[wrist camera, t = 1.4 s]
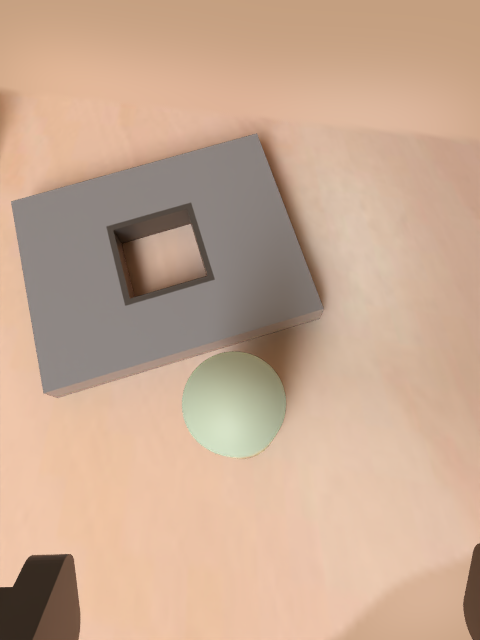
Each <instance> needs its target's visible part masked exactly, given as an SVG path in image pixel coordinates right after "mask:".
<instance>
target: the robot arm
mask: <svg viewBox="0 0 480 640" xmlns="http://www.w3.org/2000/svg"><path fill="white" fill-rule="evenodd" d="M463 605H464V606H463V607H464V616H465V620H466V624H467V627H468V630H469V633H470V635H471V637H472V639H473V640H480V543H479V544H477V545H476V546H475V548H474V551H473V556H472V561H471V566H470V571H469V576H468V581H467V587H466V591H465V596H464V603H463ZM79 632H80V607H79V599H78V590H77V582H76V573H75V565H74V559H73V556H72V555H71V554H59V555H32V556H30V557H29V558H28V559H27V560H26V562H25V564H24V566H23V568H22V570H21V572H20V574H19V576H18V578H17V580H16V582H15V584H14V586H13V587H0V640H78V639H79Z"/></svg>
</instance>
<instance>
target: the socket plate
mask: <svg viewBox="0 0 480 640" xmlns="http://www.w3.org/2000/svg"><path fill="white" fill-rule="evenodd" d="M11 204H12V210H13V216H14V222H15V228H16V233H17V239H18V245H19V251H20V257H21V263H22V269H23V275H24V281H25V287H26V292H27V298H28V304H29V310H30V316H31V322H32V328H33V334H34V340H35V346H36V352H37V357H38V363H39V369H40V375H41V381H42V387H43V393H44V394H47V395H50V396H53V397H56V398H58V397H62V396H65V395H68V394H72V393H75V392H78V391H82V390H85V389H88V388H92V387H95V386H98V385H101V384H105V383H108V382H111V381H115V380H118V379H121V378H125V377H128V376H131V375H135V374H138V373H141V372H144V371H148V370H151V369H154V368H158V367H161V366H164V365H168V364H171V363H174V362H177V361H181V360H184V359H187V358H191V357H194V356H197V355H201V354H204V353H207V352H211V351H214V350H217V349H220V348H224V347H227V346H230V345H234V344H237V343H240V342H244V341H247V340H250V339H254V338H257V337H260V336H263V335H267V334H270V333H273V332H277V331H280V330H283V329H287V328H290V327H293V326H296V325H300V324H303V323H306V322H310V321H313V320H316V319H320V316H321V314H322V312H323V310H324V308H323V306H322V303H321V300H320V298H319V295H318V292H317V290H316V287H315V285H314V282H313V279H312V277H311V274H310V271H309V269H308V266H307V264H306V261H305V258H304V256H303V253H302V250H301V248H300V245H299V243H298V240H297V237H296V235H295V232H294V229H293V227H292V224H291V222H290V219H289V216H288V214H287V211H286V208H285V206H284V203H283V201H282V198H281V195H280V193H279V190H278V187H277V185H276V182H275V180H274V177H273V174H272V172H271V169H270V166H269V164H268V161H267V159H266V156H265V153H264V151H263V148H262V145H261V143H260V140H259V138H258V135H257V134H253V135H249V136H246V137H242V138H239V139H235V140H231V141H228V142H224V143H221V144H217V145H213V146H210V147H206V148H203V149H199V150H195V151H192V152H188V153H184V154H181V155H177V156H174V157H170V158H166V159H163V160H159V161H156V162H152V163H148V164H145V165H141V166H138V167H134V168H130V169H127V170H123V171H120V172H116V173H112V174H109V175H105V176H101V177H98V178H94V179H91V180H87V181H83V182H80V183H76V184H73V185H69V186H65V187H62V188H58V189H55V190H51V191H47V192H44V193H40V194H36V195H33V196H29V197H26V198H22V199H18V200H15V201H11ZM188 224H191V225H192V229H193V232H194V235H195V238H196V242H197V245H198V248H199V252H200V255H201V258H202V261H203V265H204V268H205V271H206V275H207V276H205V277H202V278H198V279H195V280H192V281H188V282H185V283H181V284H178V285H175V286H171V287H168V288H164V289H161V290H158V291H154V292H151V293H147V294H144V295H140V296H137V297H135V296H134V292H133V288H132V284H131V280H130V276H129V272H128V268H127V264H126V260H125V256H124V252H123V248H122V244H121V243H125V242H128V241H132V240H135V239H139V238H142V237H146V236H149V235H153V234H156V233H160V232H163V231H167V230H170V229H174V228H177V227H181V226H184V225H188Z"/></svg>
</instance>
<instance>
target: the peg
mask: <svg viewBox="0 0 480 640" xmlns="http://www.w3.org/2000/svg"><path fill="white" fill-rule="evenodd" d="M285 411H286V396H285V391H284V387H283V385H282V382H281V380H280V378H279V376H278V375H277V373H276V372H275V371H274V369H273V368H272V367H271V366H270V365H269V364H267V363H266V362H265V361H264V360H262V359H260V358H259V357H257V356H254V355H252V354H248V353H245V352H233V351H232V352H224V353H220V354H217V355H215V356H212V357H210V358H208V359H207V360H205V361H204V362H203V363H201V364H200V365H199V366H198V367H197V368H196V369H195V370H194V371H193V373H192V374H191V376H190V377H189V379H188V381H187V383H186V386H185V389H184V392H183V397H182V412H183V417H184V420H185V423H186V426H187V428H188V430H189V431H190V433H191V435H192V436H193V437H194V438H195V440H196V441H197V442H198V443H200V444H201V445H202V446H203V447H205V448H206V449H208V450H209V451H212V452H214V453H216V454H219V455H223V456H227V457H232V458H237V459H246V458H251V457H254V456H256V455H258V454H260V453H261V452H263V451H264V450H265V449H266V448H267V447H268V446H269V445H270V443H271V442H272V440H273V439H274V437H275V436H276V434H277V432H278V431H279V429H280V427H281V425H282V423H283V420H284V416H285Z"/></svg>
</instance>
